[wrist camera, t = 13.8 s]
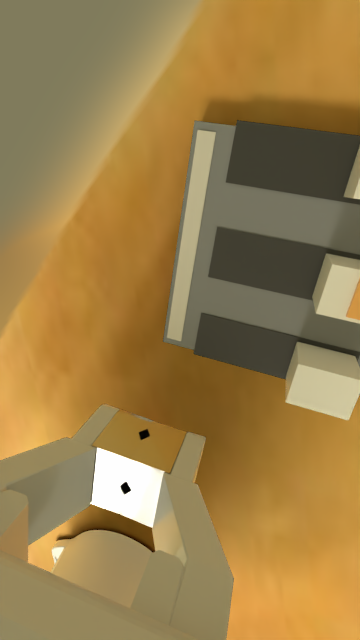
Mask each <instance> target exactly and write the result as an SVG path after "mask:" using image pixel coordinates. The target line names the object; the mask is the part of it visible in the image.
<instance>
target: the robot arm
mask: <svg viewBox="0 0 360 640" xmlns="http://www.w3.org/2000/svg"><path fill="white" fill-rule="evenodd" d="M205 441H206V437H204V436H201V435H198V434H194V433H191V432H186V431H183V430H180V429H177V428H174V427H171V426H168V425H165V424H162V423H159V422H155V421H153V420H150V419H147V418H144V417H142V416H139V415H136V414H133V413H131V412H128V411H125V410H122V409H121V410H120V409H119V408H116V407H113V406H110V405H107V404H103V405H101V406H100V407H99V408H98V409H97V410H96V411H95V413H94V414H93V415H92V416H91V417H90V418H89V419H88V420H87V422H86V423H85V424H84V425H83V426H82V427H81V428H80V430H79V431H78V432H77V433H76V434H75V435H74V436H73V438H72V439H70V438H67V437H66V438H63V439H60V440H57V441H54V442H52V443H49V444H46V445H43V446H40V447H37V448H34V449H32V450H29V451H26V452H23V453H20V454H17V455H15V456H12V457H9V458H6V459H3V460H0V640H226V637H227V629H228V621H229V613H230V605H231V597H232V590H233V582H234V578H233V575H232V572H231V570H230V567H229V565H228V562H227V559H226V557H225V554H224V552H223V549H222V546H221V544H220V541H219V539H218V536H217V533H216V531H215V528H214V526H213V523H212V520H211V518H210V515H209V513H208V510H207V507H206V505H205V502H204V500H203V497H202V494H201V492H200V489H199V487H198V485H197V484H195V480H196V476H197V472H198V469H199V465H200V461H201V457H202V453H203V449H204V445H205ZM90 504H93V505H96V506H99V507H102V508H104V509H107V510H110V511H113V512H115V513H118V514H121V515H123V516H126V517H128V518H130V519H133V520H135V521H137V522H140V523H142V524H144V525H147V526H149V527H151V528H152V533H153V539H154V545H155V552H151V551H150V550H149V549H148V548H146V547H145V546H143V545H142V544H140V543H139V542H137V541H135V540H133V539H131V538H129V537H127V536H124V535H122V534H119V533H115V532H111V531H106V530H90V531H86V532H83V533H81V534H79V535H78V536H76V537H75V538H73V539H64V540H58V541H56V543H55V544H54V546H53V548H52V554H53V558H54V562H55V565H54V567H53V569H52V570H51V572H48V571H46V570H44V569H41V568H39V567H37V566H35V565H32V564H30V563H28V545H30V544H31V543H33V542H35V541H36V540H38V539H39V538H41V537H42V536H44V535H45V534H47V533H48V532H50V531H52V530H53V529H55V528H56V527H58V526H59V525H61V524H62V523H64V522H66V521H67V520H69V519H70V518H72V517H73V516H75V515H76V514H78V513H80V512H81V511H83V510H84V509H86V508H87V507H89V506H90Z"/></svg>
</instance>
